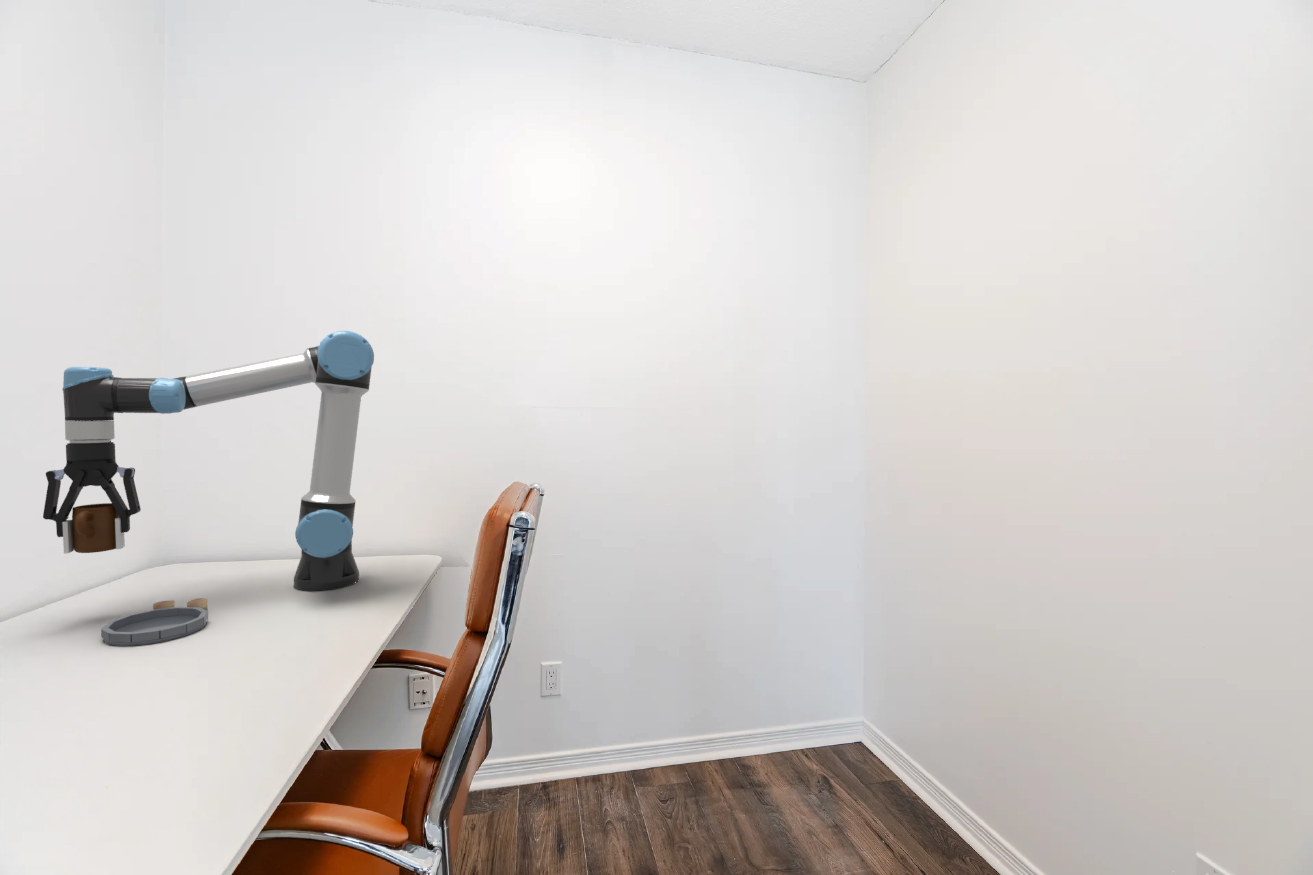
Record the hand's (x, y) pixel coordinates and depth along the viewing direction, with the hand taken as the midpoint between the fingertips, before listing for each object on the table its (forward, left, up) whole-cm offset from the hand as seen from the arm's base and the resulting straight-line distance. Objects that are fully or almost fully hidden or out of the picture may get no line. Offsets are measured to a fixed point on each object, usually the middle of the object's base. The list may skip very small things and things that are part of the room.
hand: (95, 549), depth 127 cm
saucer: (-13, +12, -15) cm, 23 cm away
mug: (0, 0, -1) cm, 1 cm away
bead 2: (-18, +2, -15) cm, 24 cm away
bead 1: (-12, +1, -15) cm, 19 cm away
